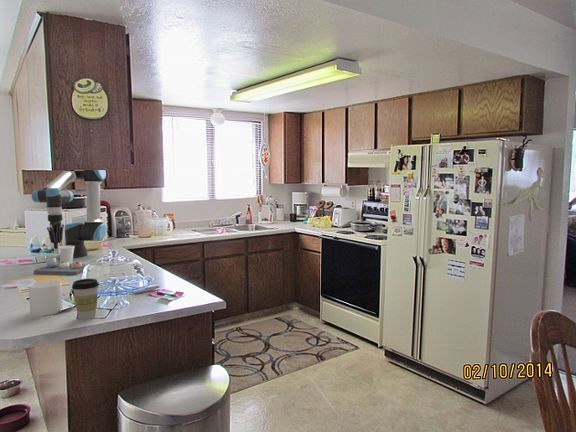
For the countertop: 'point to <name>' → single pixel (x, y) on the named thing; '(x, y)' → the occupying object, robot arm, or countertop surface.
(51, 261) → the button one
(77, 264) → the button three
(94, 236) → the robot arm
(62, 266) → the button two
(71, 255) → the cup
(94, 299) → the coffee cup
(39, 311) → the cup
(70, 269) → the console
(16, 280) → the countertop surface
